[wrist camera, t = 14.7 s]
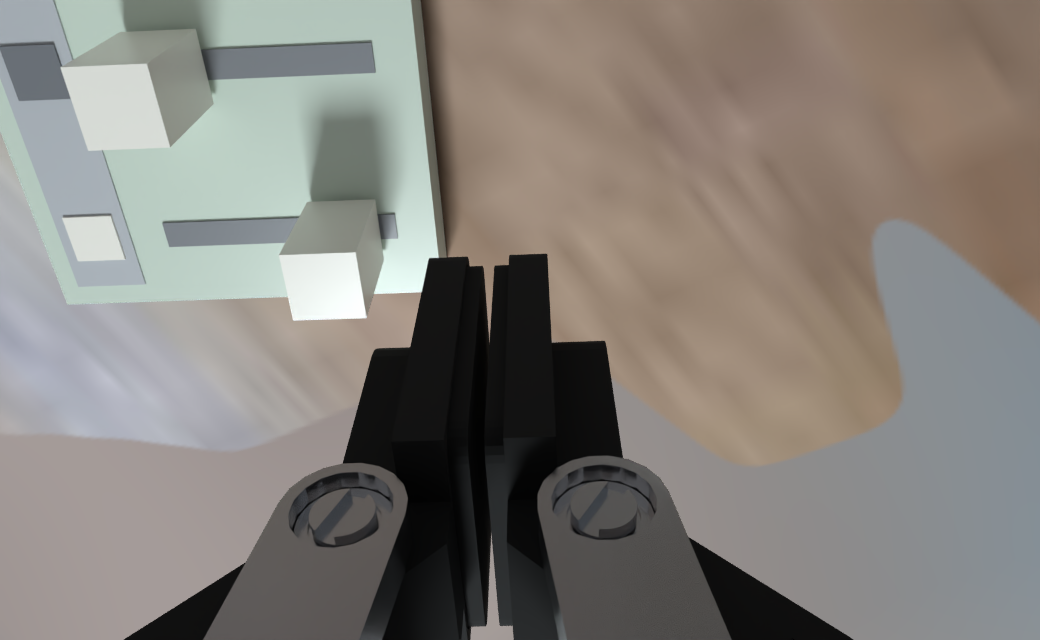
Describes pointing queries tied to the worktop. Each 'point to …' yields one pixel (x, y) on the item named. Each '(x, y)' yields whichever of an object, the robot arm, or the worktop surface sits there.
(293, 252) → the switch
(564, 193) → the worktop surface
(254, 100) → the switch box
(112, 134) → the switch
